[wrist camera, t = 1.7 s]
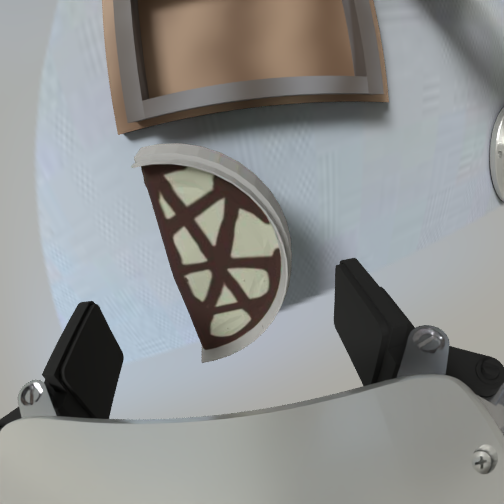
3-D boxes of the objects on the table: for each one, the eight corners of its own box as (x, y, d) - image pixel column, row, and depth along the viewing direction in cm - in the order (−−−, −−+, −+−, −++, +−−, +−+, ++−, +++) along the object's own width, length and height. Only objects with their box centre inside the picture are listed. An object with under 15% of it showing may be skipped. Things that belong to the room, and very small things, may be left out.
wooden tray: (360, -26, 14) (375, -39, 11) (382, 102, 19) (402, 102, 17) (106, -2, 13) (92, -14, 11) (122, 133, 19) (107, 137, 16)
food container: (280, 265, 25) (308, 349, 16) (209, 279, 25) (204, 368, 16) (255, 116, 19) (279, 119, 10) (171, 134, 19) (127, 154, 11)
